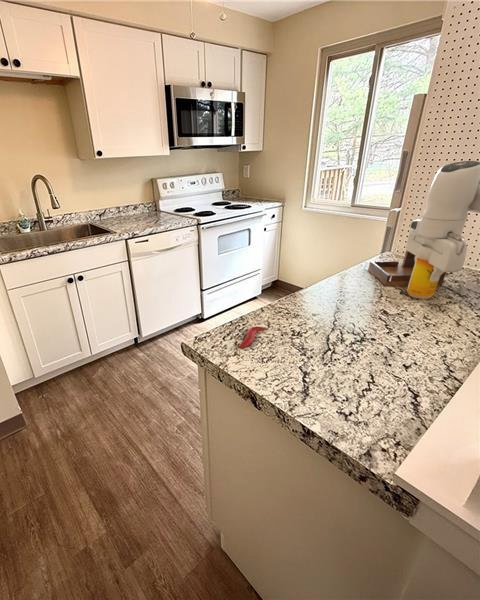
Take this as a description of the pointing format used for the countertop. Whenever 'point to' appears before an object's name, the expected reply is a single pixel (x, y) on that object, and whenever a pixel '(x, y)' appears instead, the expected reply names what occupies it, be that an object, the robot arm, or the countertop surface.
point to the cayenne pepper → (250, 336)
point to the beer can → (422, 276)
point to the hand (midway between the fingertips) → (425, 275)
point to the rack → (396, 271)
